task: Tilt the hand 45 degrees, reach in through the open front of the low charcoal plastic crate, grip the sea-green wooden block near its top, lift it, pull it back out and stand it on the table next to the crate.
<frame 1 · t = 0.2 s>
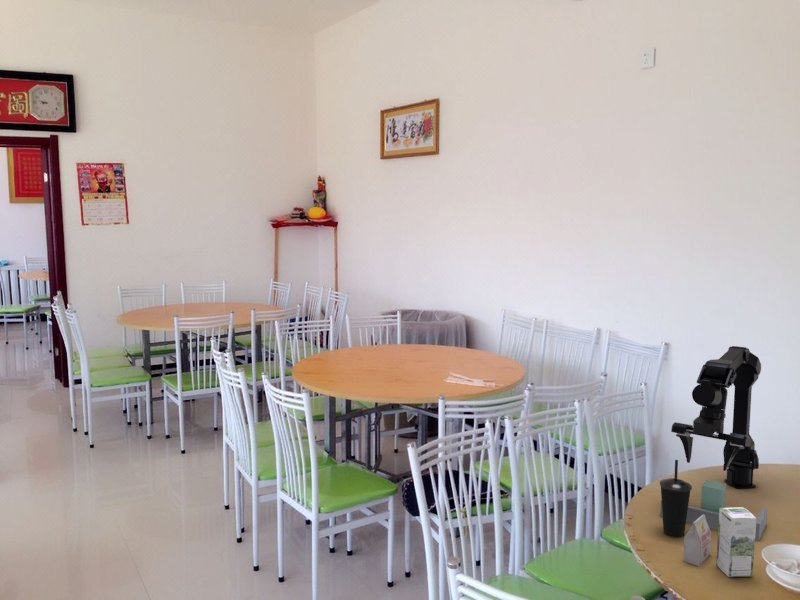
hand: (706, 466, 179), 15 cm above the table, tool tilted 15°, fingers open, 9 cm apart
green block: (712, 520, 180), point 1 cm above the table, touching open crate
small gable top carton: (696, 559, 161), on the table
drinking cup: (673, 535, 173), on the table
open crate: (712, 522, 180), on the table
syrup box: (734, 572, 155), on the table
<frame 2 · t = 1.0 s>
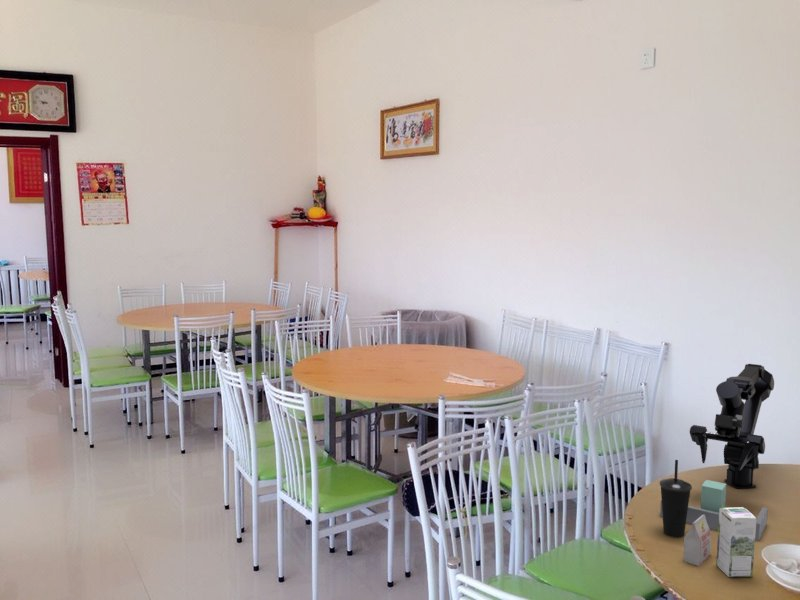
hand: (721, 466, 185), 13 cm above the table, tool tilted 45°, fingers open, 9 cm apart
nothing on the table moved.
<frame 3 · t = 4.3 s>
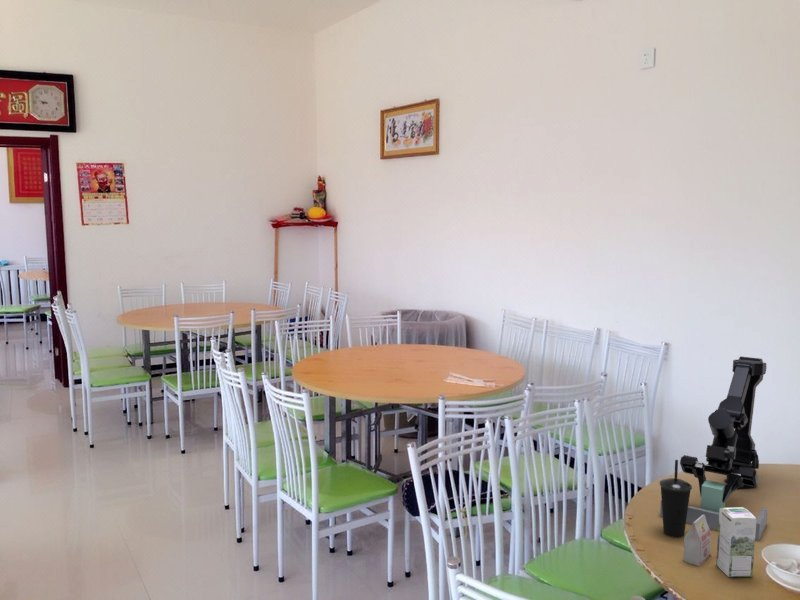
hand: (712, 499, 178), 7 cm above the table, tool tilted 45°, fingers closed on green block, 5 cm apart
green block: (712, 520, 180), point 1 cm above the table, touching gripper, open crate
everything else where it was.
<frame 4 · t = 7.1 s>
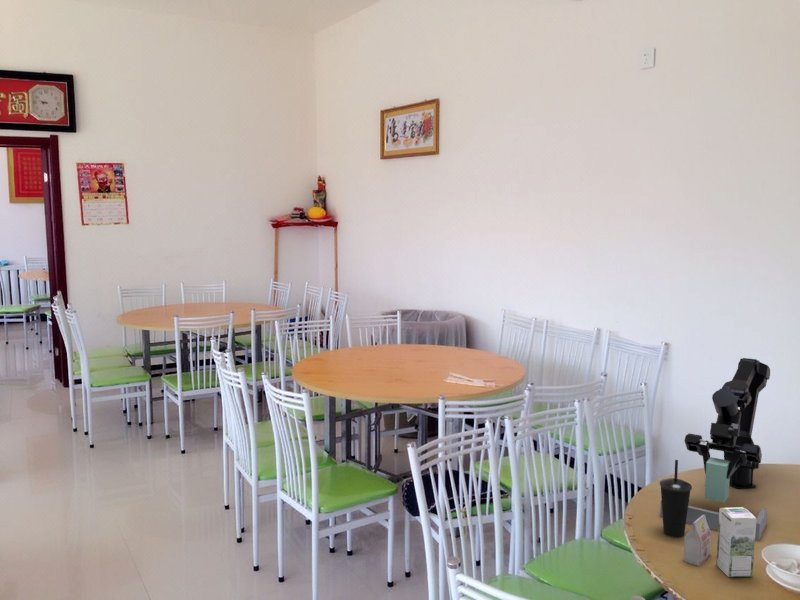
hand: (716, 475, 181), 12 cm above the table, tool tilted 45°, fingers closed on green block, 5 cm apart
green block: (716, 497, 183), point 6 cm above the table, touching gripper
everything else where it was.
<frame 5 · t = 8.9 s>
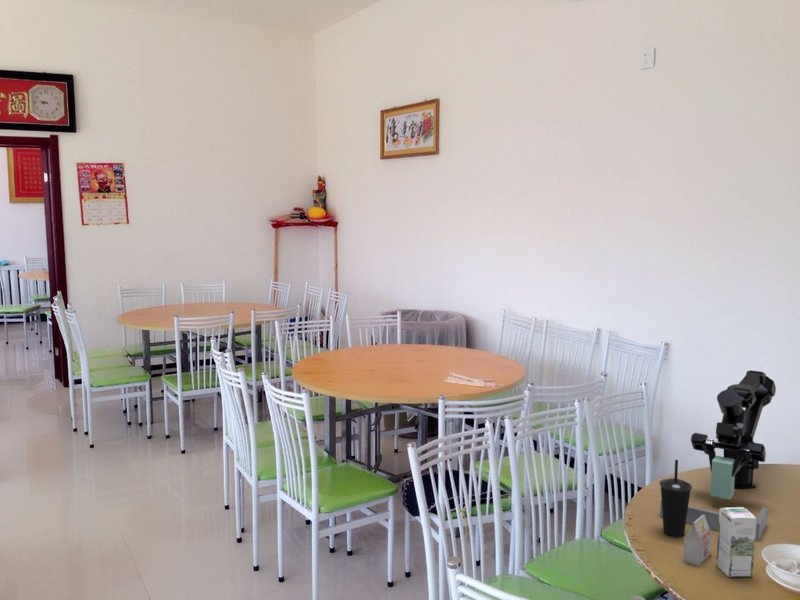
hand: (722, 473, 187), 11 cm above the table, tool tilted 45°, fingers closed on green block, 5 cm apart
green block: (722, 494, 188), point 4 cm above the table, touching gripper
everything else where it was.
when the fingers open (8 cm above the table, at t = 10.2 s): green block drops 1 cm, on the table.
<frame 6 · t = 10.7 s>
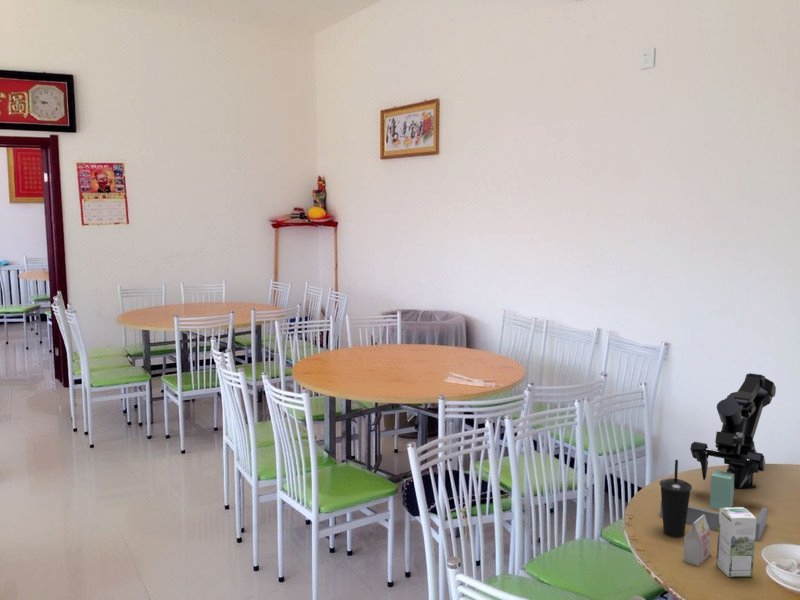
hand: (721, 483, 187), 8 cm above the table, tool tilted 45°, fingers open, 9 cm apart
green block: (721, 508, 189), on the table
everything else where it was.
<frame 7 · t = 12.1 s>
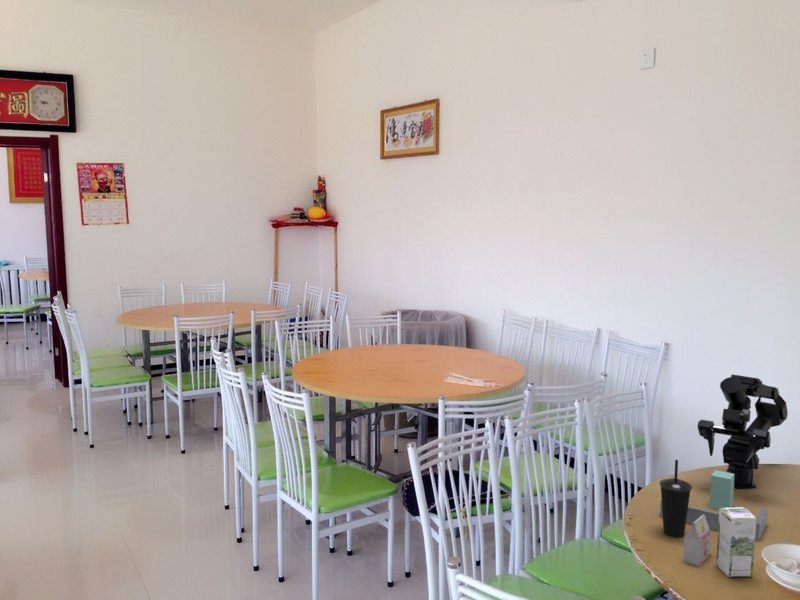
hand: (728, 458, 192), 13 cm above the table, tool tilted 45°, fingers open, 9 cm apart
nothing on the table moved.
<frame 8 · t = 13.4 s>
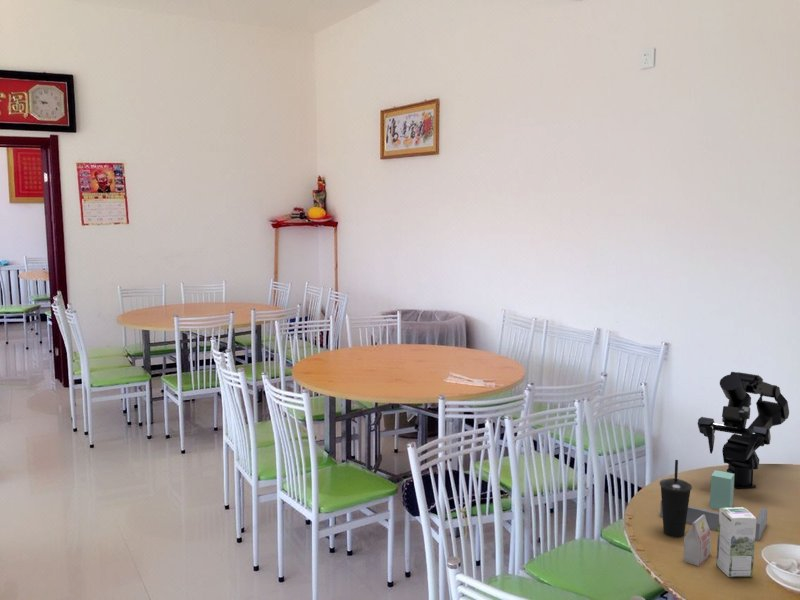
hand: (728, 456, 192), 14 cm above the table, tool tilted 45°, fingers open, 9 cm apart
nothing on the table moved.
at the end: green block 0.3 cm from the target spot, on the table; green block tilted 0°; the gripper is holding nothing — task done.
